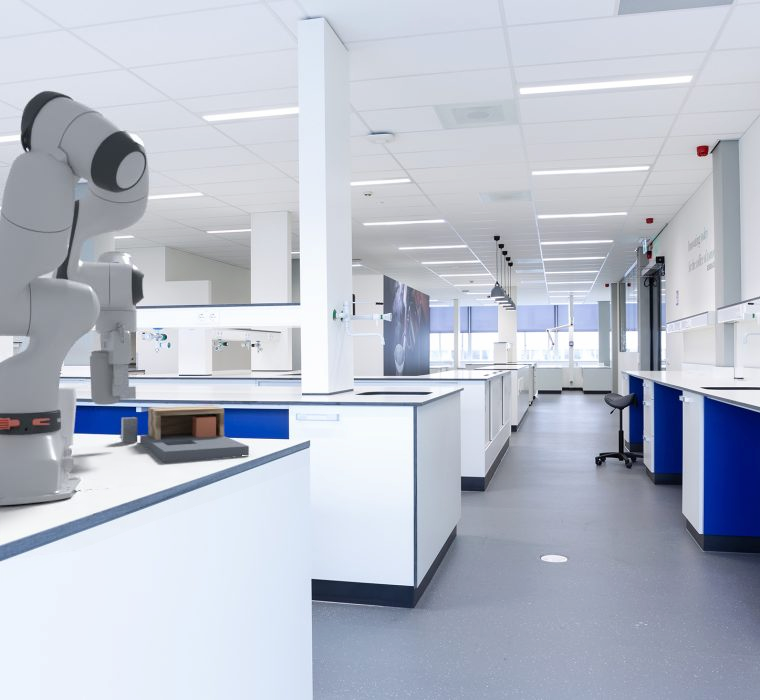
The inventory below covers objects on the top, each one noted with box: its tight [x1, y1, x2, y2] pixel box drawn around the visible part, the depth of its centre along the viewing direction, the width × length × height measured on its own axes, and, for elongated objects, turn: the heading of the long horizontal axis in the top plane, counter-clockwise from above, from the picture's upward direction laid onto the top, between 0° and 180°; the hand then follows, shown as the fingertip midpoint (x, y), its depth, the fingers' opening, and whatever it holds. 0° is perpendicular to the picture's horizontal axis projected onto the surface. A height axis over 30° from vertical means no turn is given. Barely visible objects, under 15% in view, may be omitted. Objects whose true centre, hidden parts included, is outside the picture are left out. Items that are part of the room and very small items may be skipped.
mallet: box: [119, 416, 138, 444], centre depth 188 cm, size 14×4×7 cm, turn 28°
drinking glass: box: [58, 387, 77, 447], centre depth 179 cm, size 7×7×15 cm
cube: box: [192, 415, 216, 437], centre depth 182 cm, size 5×5×5 cm
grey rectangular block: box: [111, 364, 137, 400], centre depth 169 cm, size 21×8×7 cm, turn 28°
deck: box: [139, 433, 250, 464], centre depth 173 cm, size 34×19×2 cm, turn 28°
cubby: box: [147, 404, 225, 440], centre depth 183 cm, size 12×17×7 cm
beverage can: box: [89, 349, 122, 406], centre depth 161 cm, size 6×6×12 cm
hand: (116, 384), depth 160 cm, fingers closed on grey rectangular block, 4 cm apart
